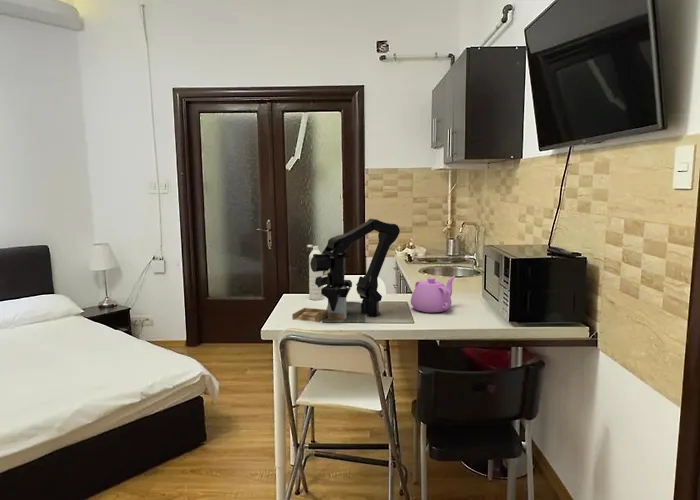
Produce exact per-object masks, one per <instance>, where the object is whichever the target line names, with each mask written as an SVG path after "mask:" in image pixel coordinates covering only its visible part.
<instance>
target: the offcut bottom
mask: <svg viewBox="0 0 700 500" xmlns="http://www.w3.org/2000/svg"><path fill="white" fill-rule="evenodd" d="M299 319H305V320H316V318H311V317H301V316H299Z"/></svg>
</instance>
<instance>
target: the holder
mask: <svg viewBox="0 0 700 500" xmlns="http://www.w3.org/2000/svg"><path fill="white" fill-rule="evenodd" d="M347 316H348V314H347V310H346V318H347ZM327 320H336V321H337V320H338V321H343V320H344V319H343V314H339V313H328V316H327Z"/></svg>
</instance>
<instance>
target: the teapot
mask: <svg viewBox="0 0 700 500" xmlns="http://www.w3.org/2000/svg"><path fill="white" fill-rule="evenodd" d="M455 278H456V276H455V275H453V276H451V277H449V278H448V279H447V282H446V285H445V283H443V282H441V281H437V280H436V277H427V278H426V279H427V280H417V281H416V282H415V285H414V290H413V291H412V294H411V296H410V305H411V306H412V307H413V308H414V309H415V310H416V311H420V312H425V313H428V314H432V313H441V312H445V311H447V310H448V309H449V308H450V307H451V306H452V299H451V297H452V294H453V280H454V279H455Z"/></svg>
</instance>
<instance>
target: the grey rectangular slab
mask: <svg viewBox="0 0 700 500" xmlns="http://www.w3.org/2000/svg"><path fill="white" fill-rule="evenodd" d="M327 310H328V313H339V314H343V320H345V319H347V317H346V311H347V297H346V298H345V297H339V299H338V302H337V305H336V308H335V311H332V310H331V307H330V304H329V301H328V300H327Z"/></svg>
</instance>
